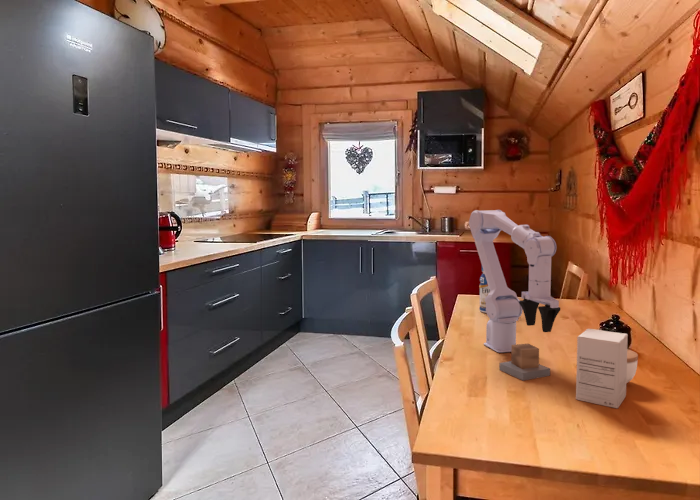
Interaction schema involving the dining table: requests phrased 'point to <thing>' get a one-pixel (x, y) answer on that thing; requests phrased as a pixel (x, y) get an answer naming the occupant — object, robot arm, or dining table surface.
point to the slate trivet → (524, 371)
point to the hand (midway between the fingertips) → (538, 328)
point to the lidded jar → (631, 364)
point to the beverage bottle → (483, 292)
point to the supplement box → (601, 367)
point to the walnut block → (525, 356)
